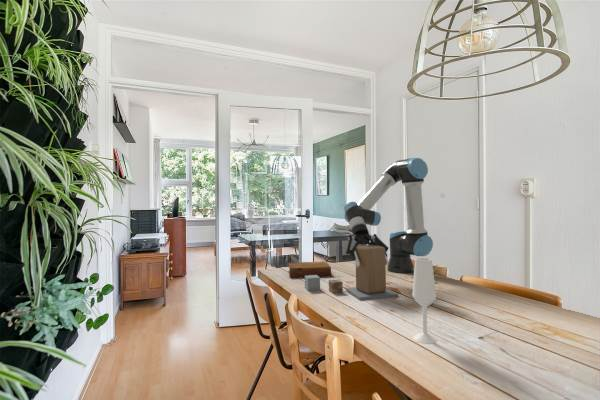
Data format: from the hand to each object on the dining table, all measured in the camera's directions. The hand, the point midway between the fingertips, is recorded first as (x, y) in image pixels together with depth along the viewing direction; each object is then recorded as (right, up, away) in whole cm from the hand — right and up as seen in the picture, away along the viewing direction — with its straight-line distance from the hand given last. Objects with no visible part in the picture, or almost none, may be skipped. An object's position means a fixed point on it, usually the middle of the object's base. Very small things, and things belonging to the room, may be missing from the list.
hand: (372, 264), depth 152 cm
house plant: (+20, -13, -14) cm, 27 cm away
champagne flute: (+5, -13, -49) cm, 51 cm away
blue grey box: (-26, -14, +13) cm, 32 cm away
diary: (-27, -15, +47) cm, 57 cm away
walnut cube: (-16, -14, +7) cm, 22 cm away
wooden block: (0, -12, +2) cm, 13 cm away
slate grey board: (0, -13, +2) cm, 14 cm away
